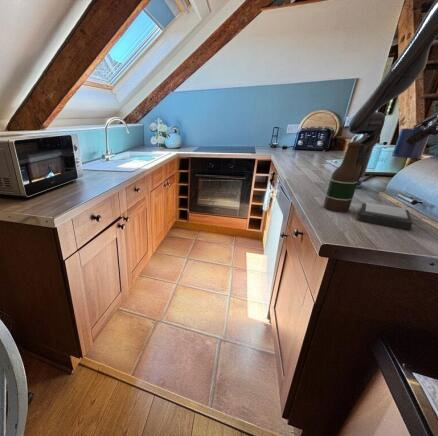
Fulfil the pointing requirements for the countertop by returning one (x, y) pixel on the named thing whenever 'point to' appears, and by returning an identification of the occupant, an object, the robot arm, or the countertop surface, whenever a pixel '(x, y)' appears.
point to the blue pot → (408, 150)
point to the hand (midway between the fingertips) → (404, 141)
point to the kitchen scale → (385, 215)
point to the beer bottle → (343, 181)
